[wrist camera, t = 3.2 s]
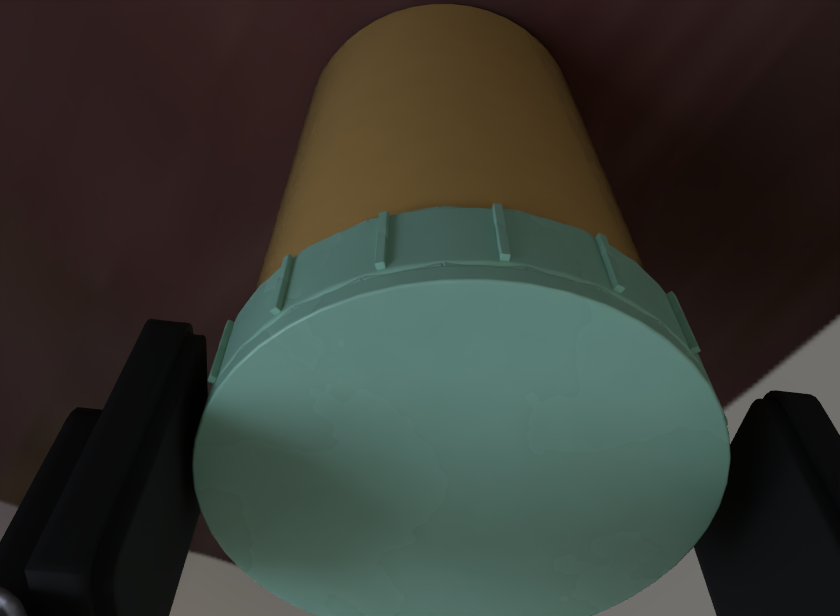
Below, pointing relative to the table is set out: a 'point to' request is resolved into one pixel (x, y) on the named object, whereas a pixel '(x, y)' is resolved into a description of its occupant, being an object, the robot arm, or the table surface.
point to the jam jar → (442, 132)
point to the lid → (459, 423)
